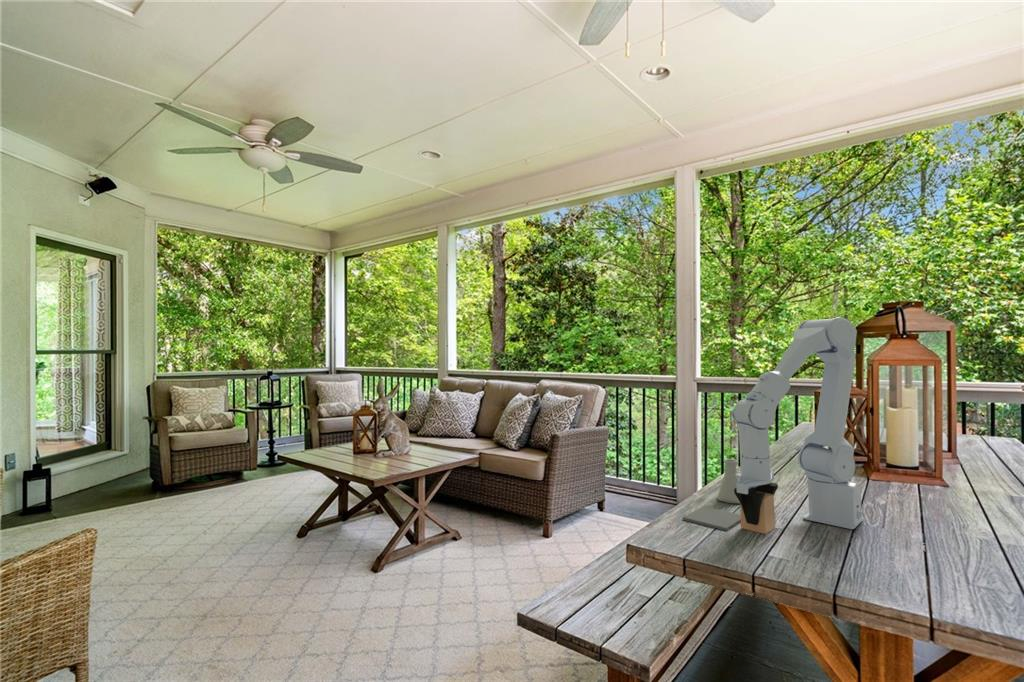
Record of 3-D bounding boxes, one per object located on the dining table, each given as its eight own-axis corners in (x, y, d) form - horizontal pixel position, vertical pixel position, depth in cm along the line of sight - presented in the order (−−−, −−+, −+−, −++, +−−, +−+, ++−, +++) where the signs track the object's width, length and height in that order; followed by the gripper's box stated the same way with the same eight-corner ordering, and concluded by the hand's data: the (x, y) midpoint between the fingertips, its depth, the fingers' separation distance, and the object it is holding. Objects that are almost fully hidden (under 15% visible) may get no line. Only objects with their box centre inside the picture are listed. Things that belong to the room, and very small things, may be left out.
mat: (746, 518, 108) (746, 515, 108) (726, 530, 102) (726, 528, 102) (703, 508, 116) (703, 506, 116) (682, 519, 109) (682, 517, 109)
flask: (744, 506, 116) (742, 464, 117) (713, 501, 121) (711, 461, 121) (751, 498, 122) (749, 458, 122) (721, 494, 127) (719, 455, 127)
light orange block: (775, 527, 102) (773, 494, 103) (765, 534, 99) (764, 499, 99) (750, 521, 106) (749, 489, 106) (741, 528, 103) (739, 495, 103)
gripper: (749, 448, 111) (752, 507, 110) (720, 459, 101) (723, 524, 101) (782, 452, 105) (785, 514, 105) (755, 464, 96) (759, 533, 96)
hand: (757, 520), depth 103 cm, fingers closed on light orange block, 5 cm apart
